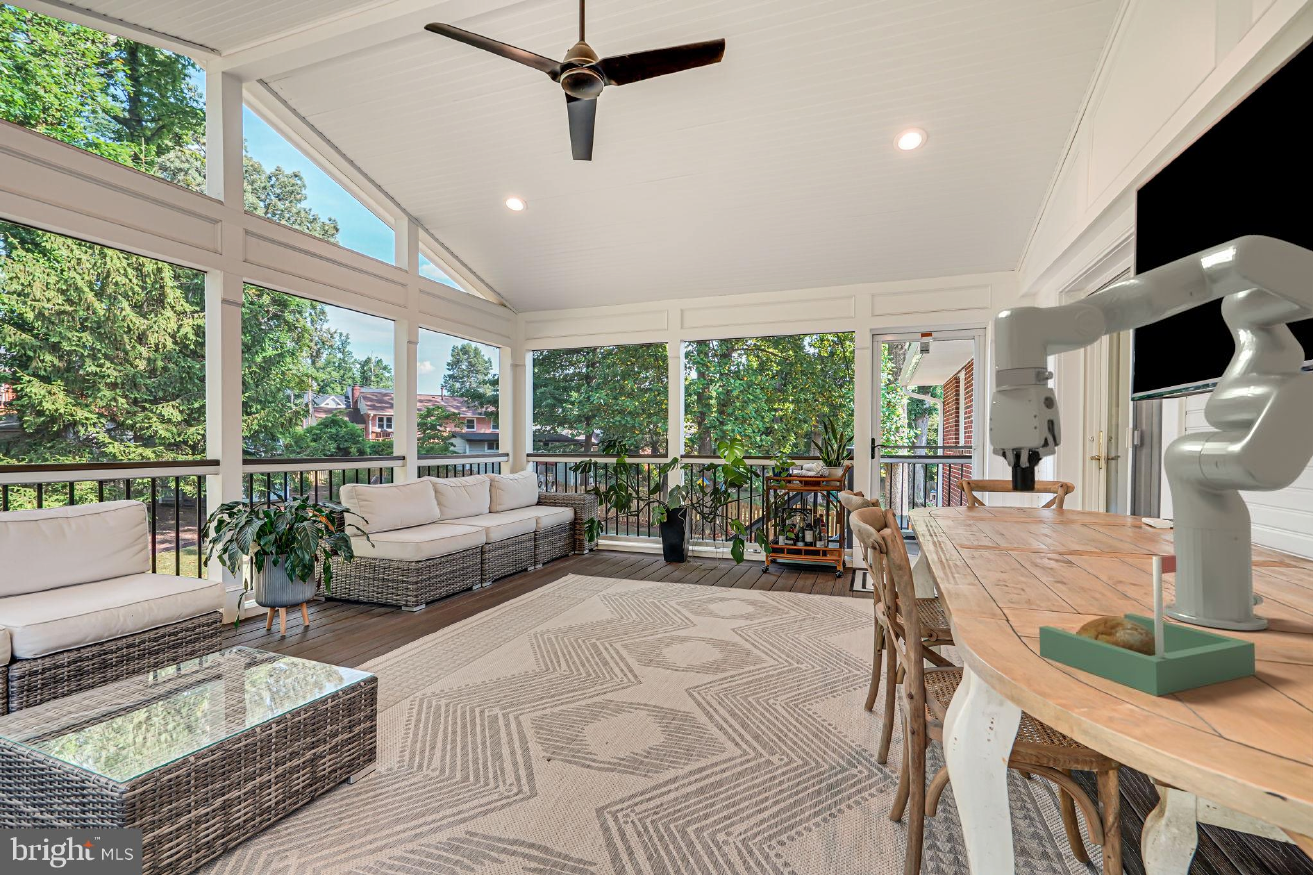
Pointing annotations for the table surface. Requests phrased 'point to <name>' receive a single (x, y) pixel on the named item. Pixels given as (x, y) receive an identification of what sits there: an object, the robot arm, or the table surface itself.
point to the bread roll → (1120, 634)
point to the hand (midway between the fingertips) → (1023, 490)
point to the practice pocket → (1156, 651)
